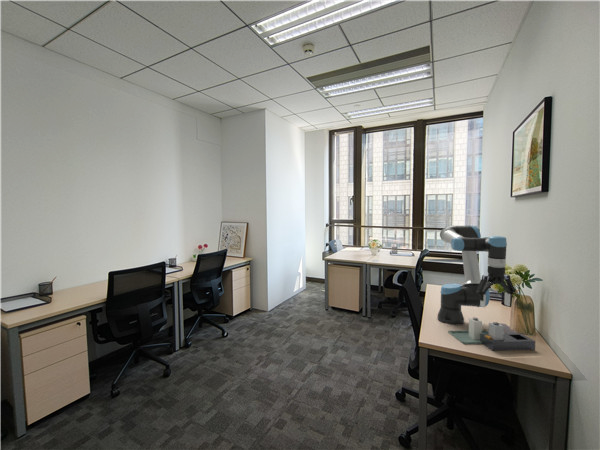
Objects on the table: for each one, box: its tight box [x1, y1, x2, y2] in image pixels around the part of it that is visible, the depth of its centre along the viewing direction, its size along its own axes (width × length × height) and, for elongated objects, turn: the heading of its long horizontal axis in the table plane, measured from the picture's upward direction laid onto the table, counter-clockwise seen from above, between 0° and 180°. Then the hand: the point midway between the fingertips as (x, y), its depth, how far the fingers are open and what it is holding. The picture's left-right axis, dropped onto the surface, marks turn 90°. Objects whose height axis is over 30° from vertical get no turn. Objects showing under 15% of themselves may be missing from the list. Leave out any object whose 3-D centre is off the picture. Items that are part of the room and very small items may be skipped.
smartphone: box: [498, 322, 518, 334], centre depth 163 cm, size 7×1×15 cm
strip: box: [480, 332, 536, 352], centre depth 141 cm, size 9×22×6 cm, turn 92°
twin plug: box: [488, 321, 504, 340], centre depth 141 cm, size 4×4×11 cm
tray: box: [448, 329, 489, 345], centre depth 151 cm, size 14×22×2 cm, turn 92°
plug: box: [468, 317, 483, 339], centre depth 151 cm, size 4×4×11 cm
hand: (494, 306), depth 143 cm, fingers open, 13 cm apart
